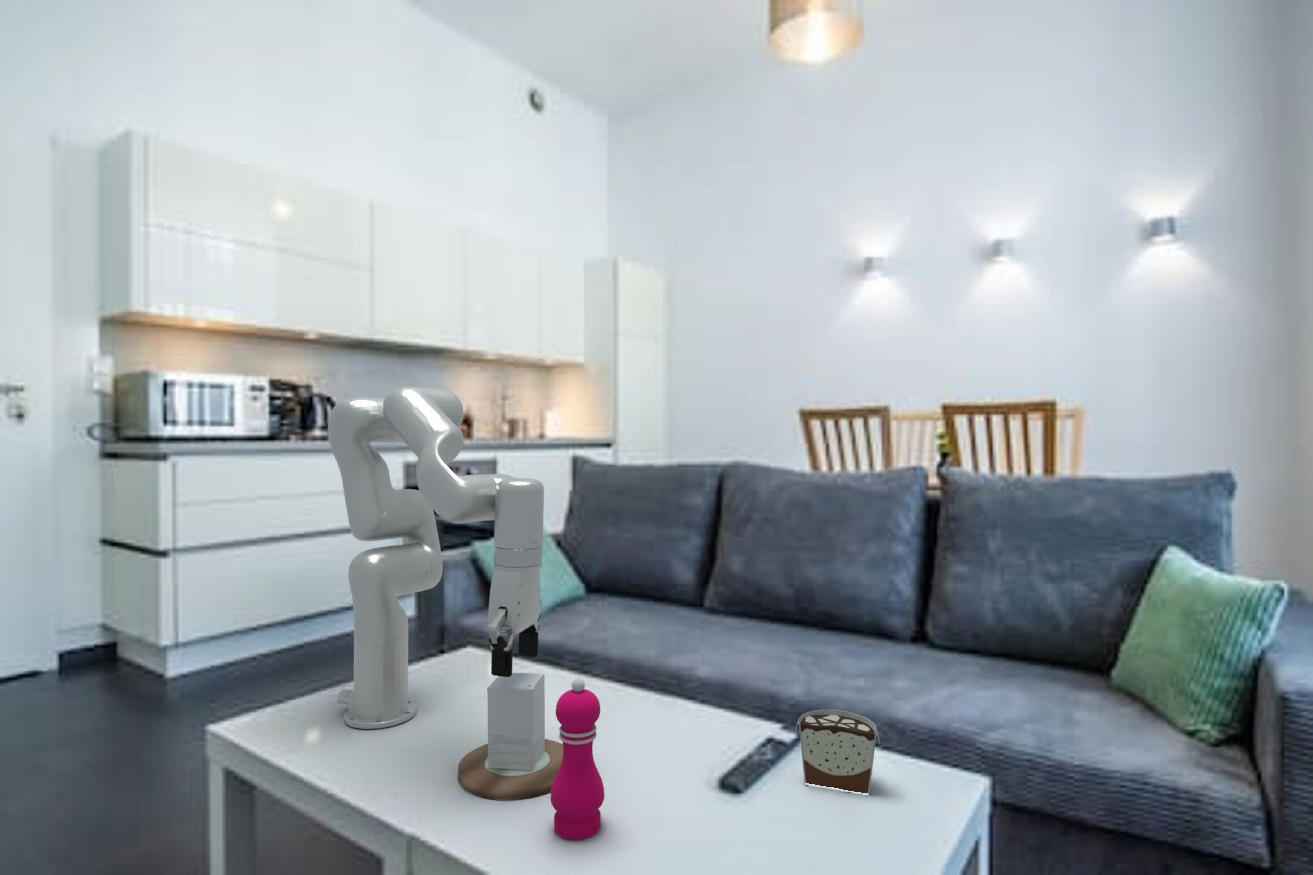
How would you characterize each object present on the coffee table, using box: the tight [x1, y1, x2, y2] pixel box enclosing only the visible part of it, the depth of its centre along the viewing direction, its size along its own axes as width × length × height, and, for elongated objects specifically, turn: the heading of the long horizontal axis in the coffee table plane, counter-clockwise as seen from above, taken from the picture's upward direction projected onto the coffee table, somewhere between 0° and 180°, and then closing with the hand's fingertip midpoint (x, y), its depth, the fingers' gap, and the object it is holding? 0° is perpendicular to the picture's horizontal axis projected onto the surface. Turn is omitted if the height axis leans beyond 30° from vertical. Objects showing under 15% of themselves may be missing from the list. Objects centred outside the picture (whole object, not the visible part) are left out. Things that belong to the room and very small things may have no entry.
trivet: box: [457, 738, 563, 801], centre depth 112 cm, size 18×18×2 cm
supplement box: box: [486, 672, 546, 770], centre depth 112 cm, size 7×7×13 cm
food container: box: [795, 709, 881, 795], centre depth 109 cm, size 12×6×10 cm, turn 71°
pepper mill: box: [550, 677, 605, 841], centre depth 96 cm, size 7×7×20 cm
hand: (515, 665), depth 112 cm, fingers open, 9 cm apart
